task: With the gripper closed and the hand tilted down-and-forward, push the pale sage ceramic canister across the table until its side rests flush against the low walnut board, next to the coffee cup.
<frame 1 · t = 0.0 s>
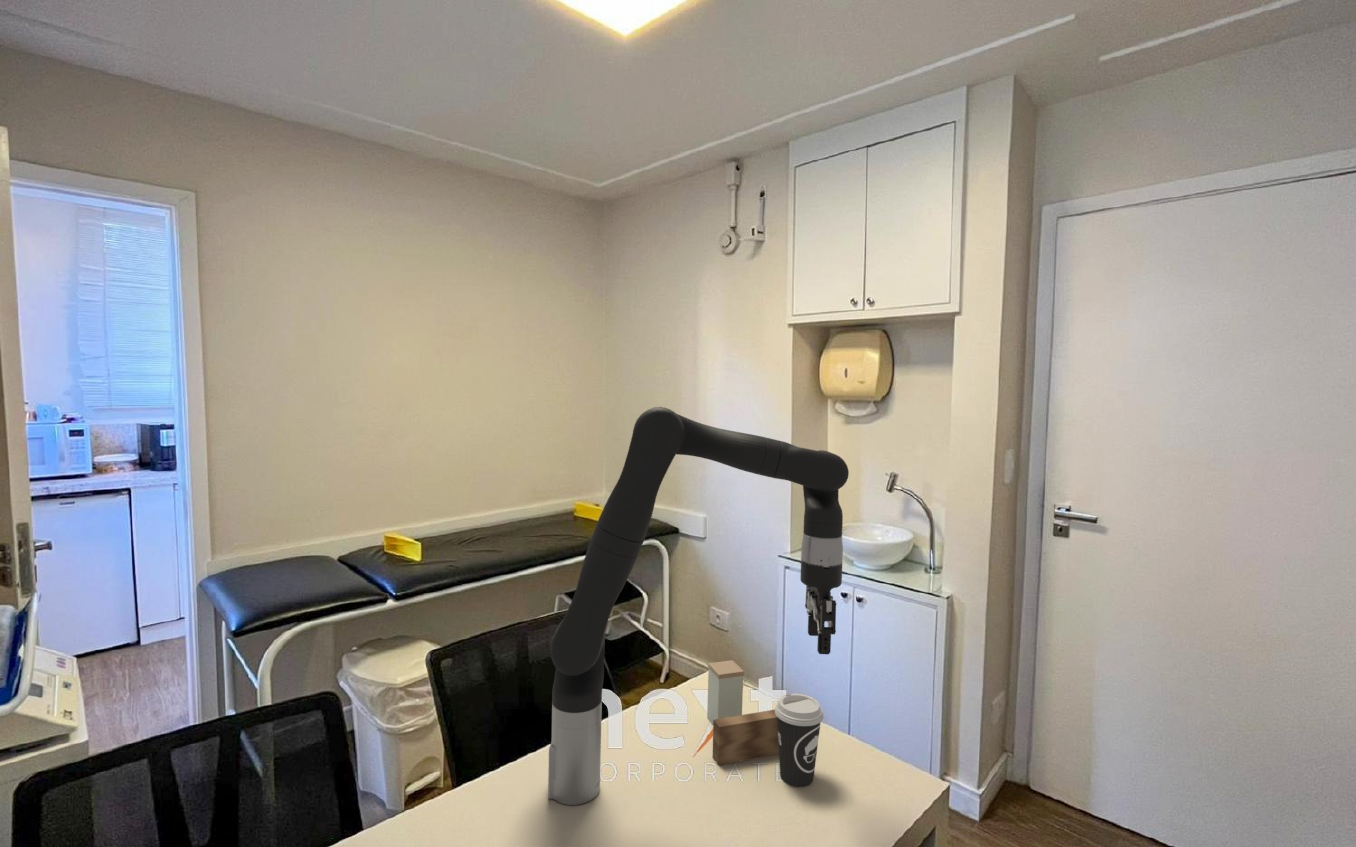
hand: (818, 644, 117), 29 cm above the table, tool pointing down, fingers open, 8 cm apart
canister: (724, 722, 144), on the table
board: (750, 754, 132), on the table
coffee cup: (796, 777, 124), on the table
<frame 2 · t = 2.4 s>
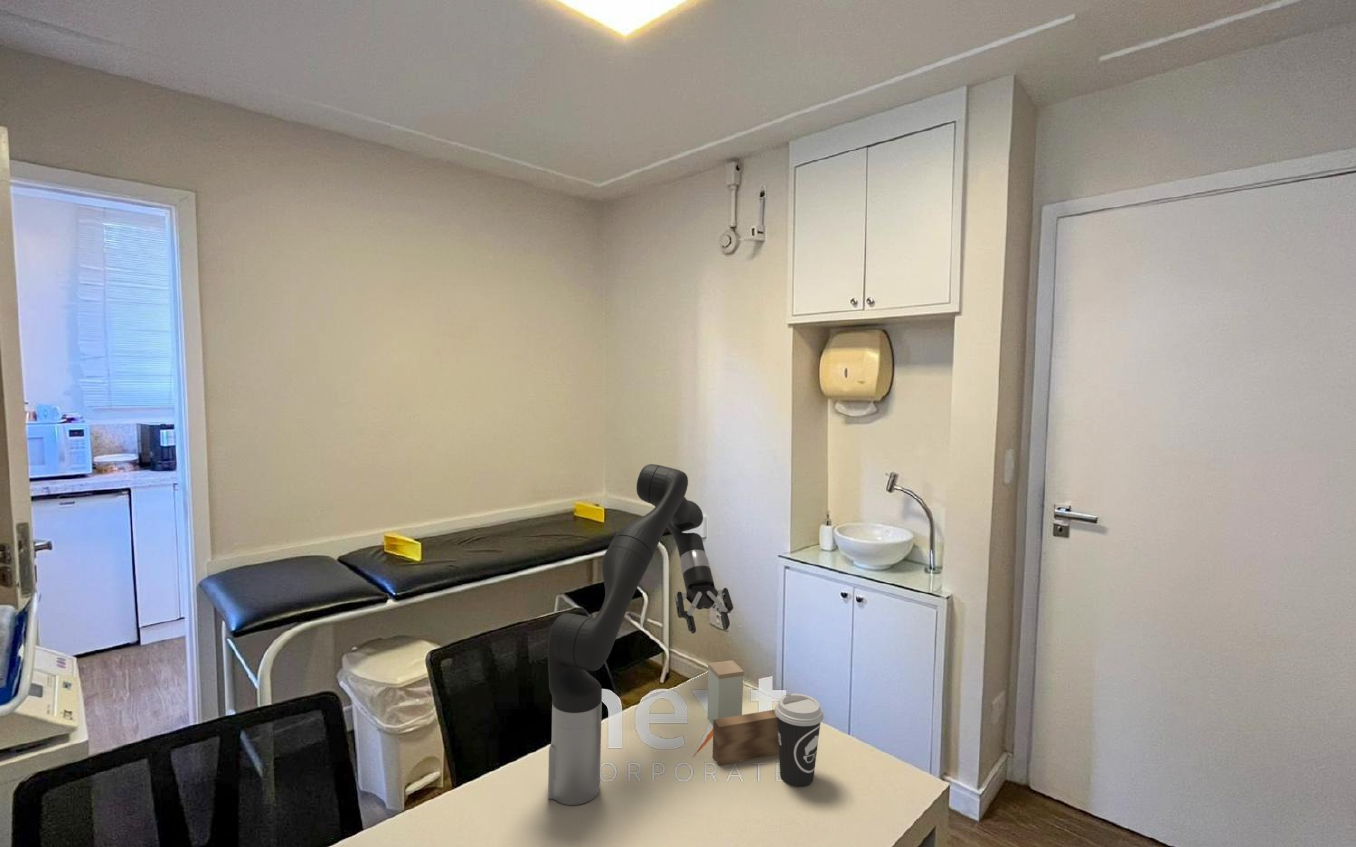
hand: (710, 630, 155), 17 cm above the table, tool tilted 45°, fingers open, 8 cm apart
nothing on the table moved.
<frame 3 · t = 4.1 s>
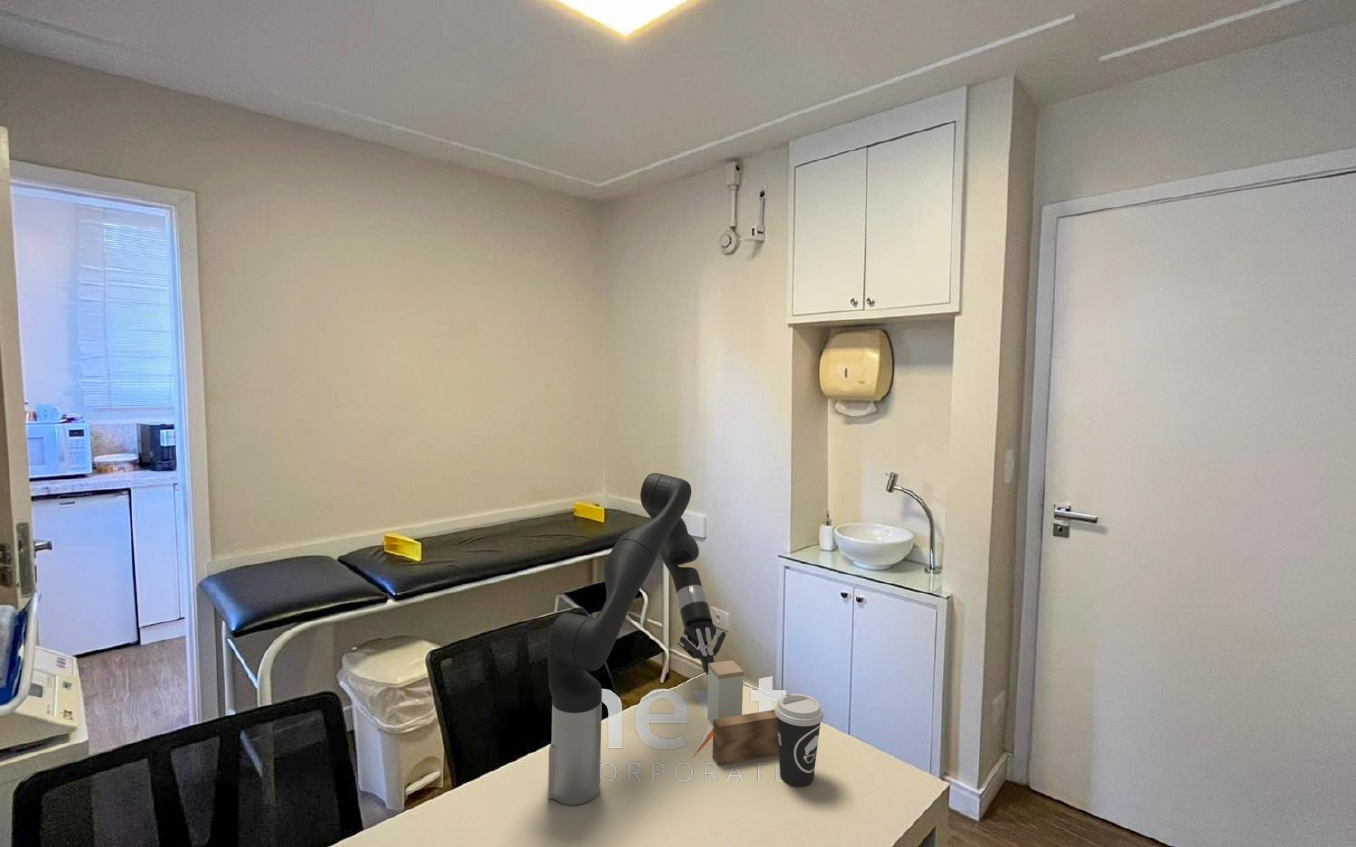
hand: (710, 673, 152), 8 cm above the table, tool tilted 45°, fingers closed
nothing on the table moved.
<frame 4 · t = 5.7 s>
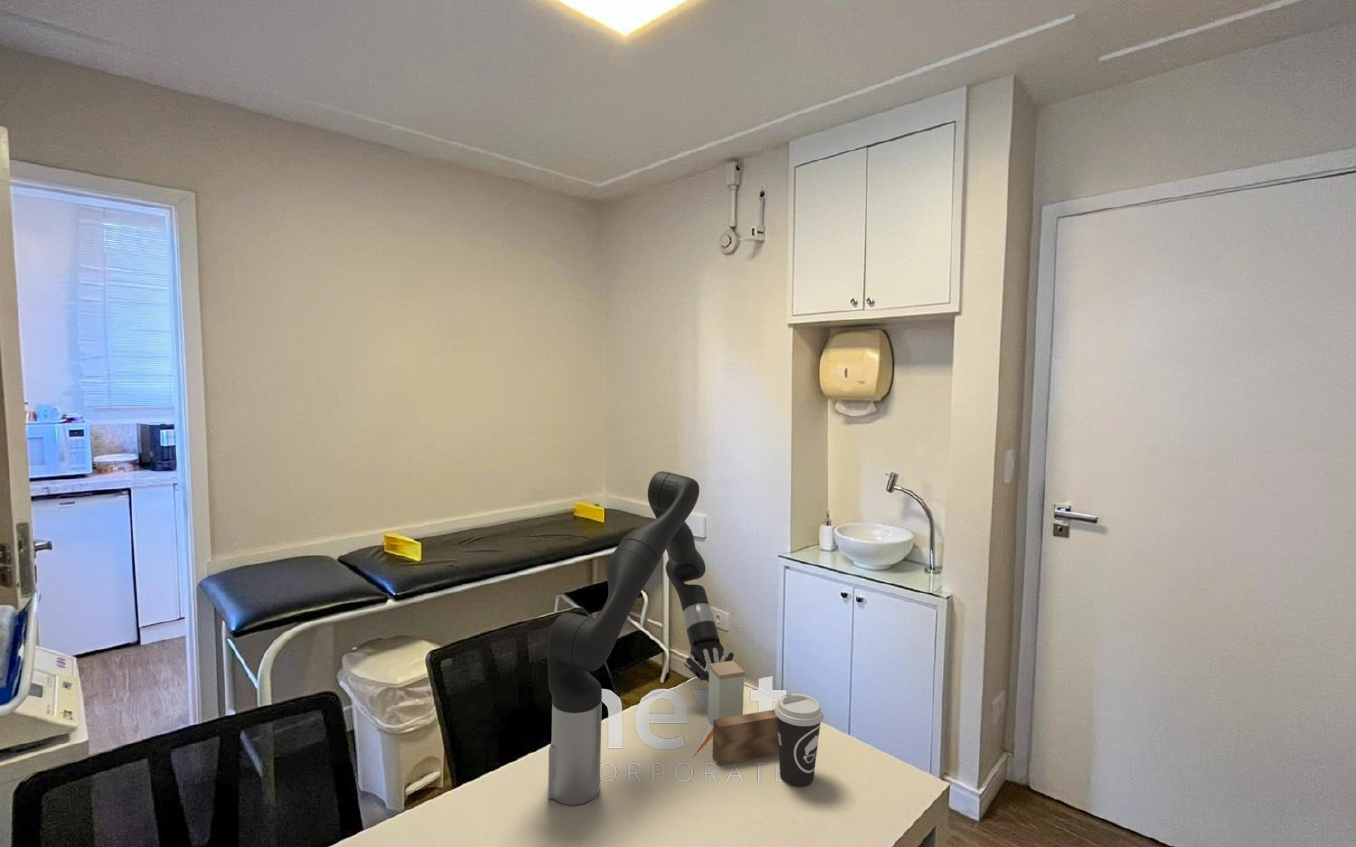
hand: (718, 695, 147), 5 cm above the table, tool tilted 45°, fingers closed
canister: (724, 723, 144), on the table
everything else where it was.
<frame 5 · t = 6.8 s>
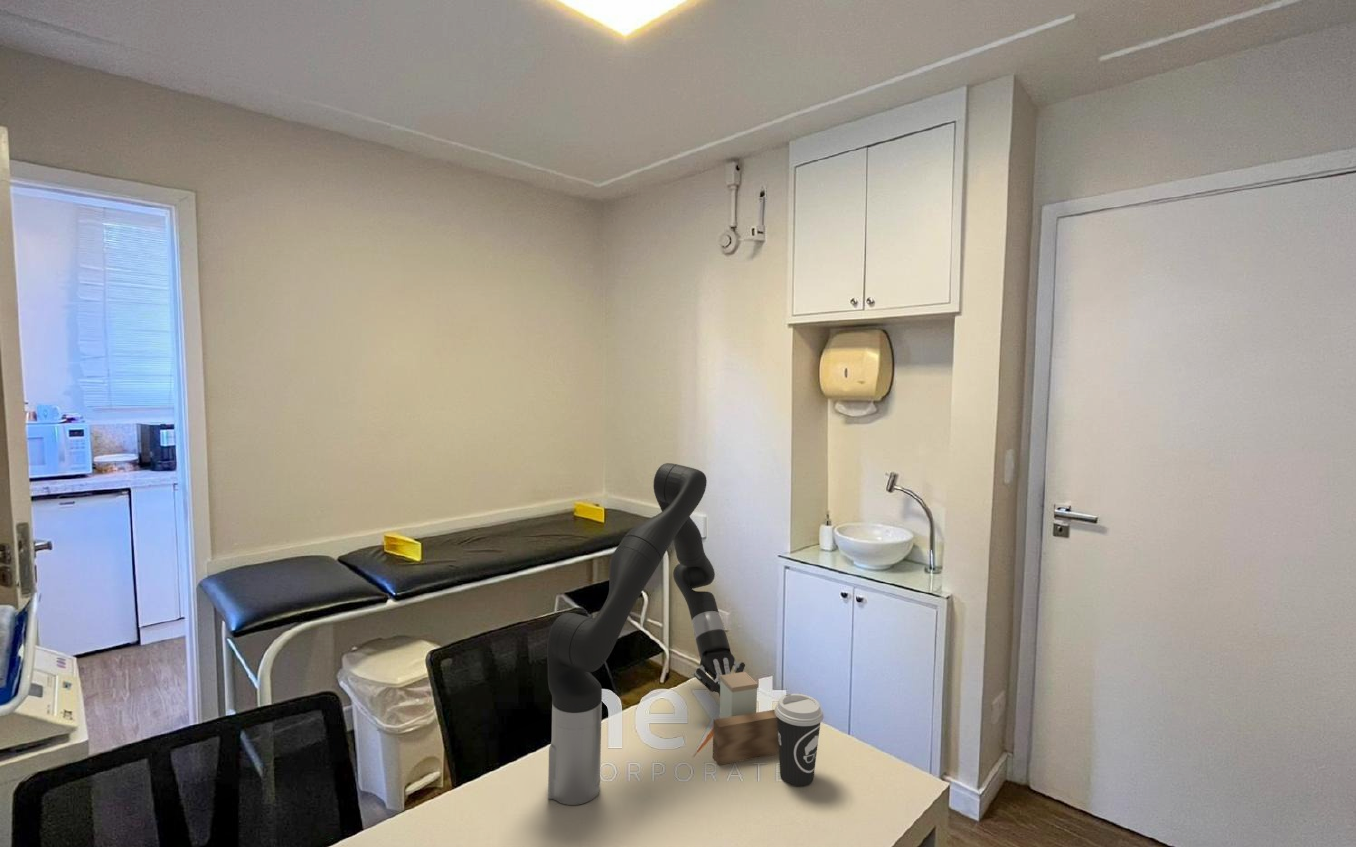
hand: (730, 708, 141), 5 cm above the table, tool tilted 45°, fingers closed
canister: (737, 737, 138), on the table, touching gripper
everything else where it was.
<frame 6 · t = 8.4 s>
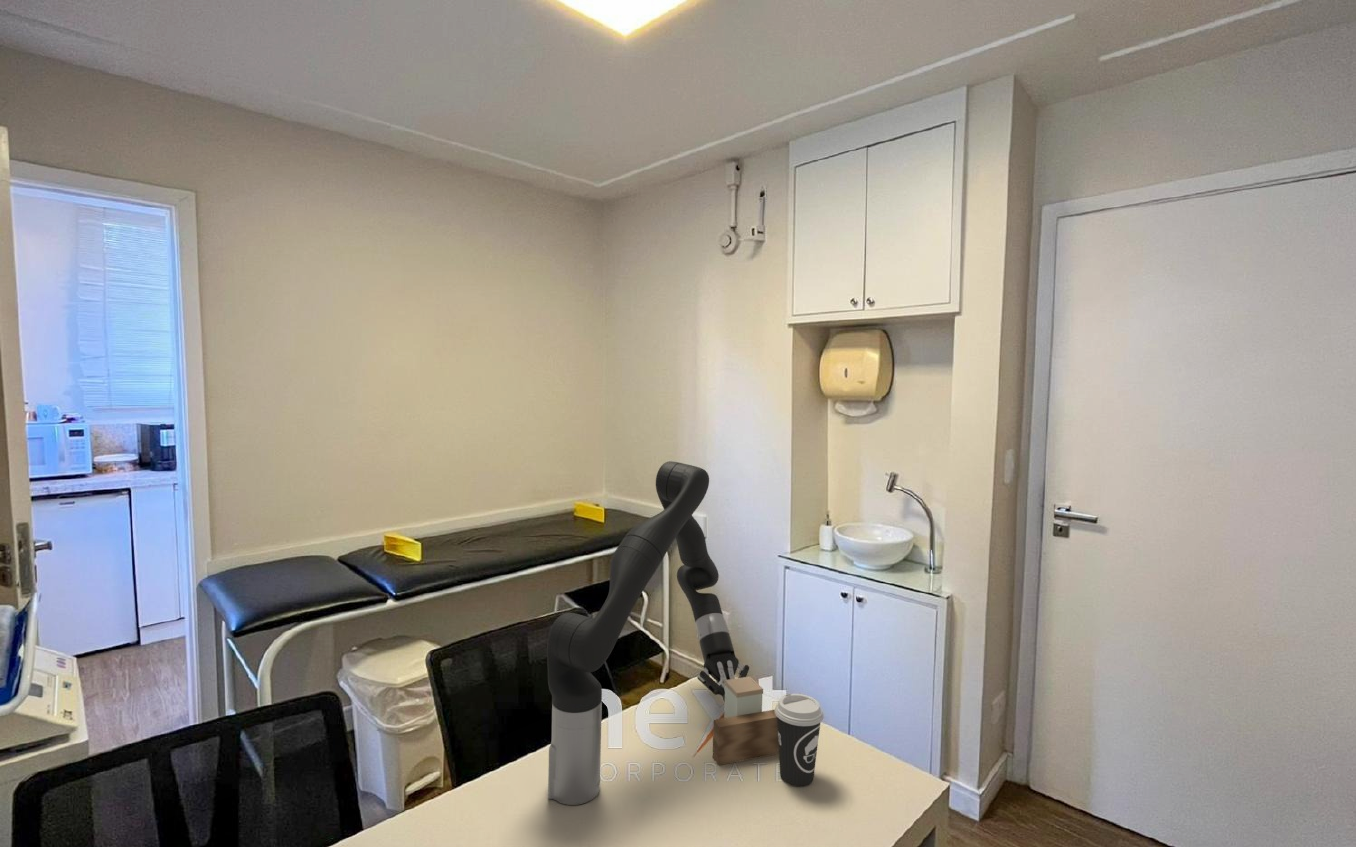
hand: (734, 711, 139), 5 cm above the table, tool tilted 45°, fingers closed
canister: (741, 743, 136), on the table
everything else where it was.
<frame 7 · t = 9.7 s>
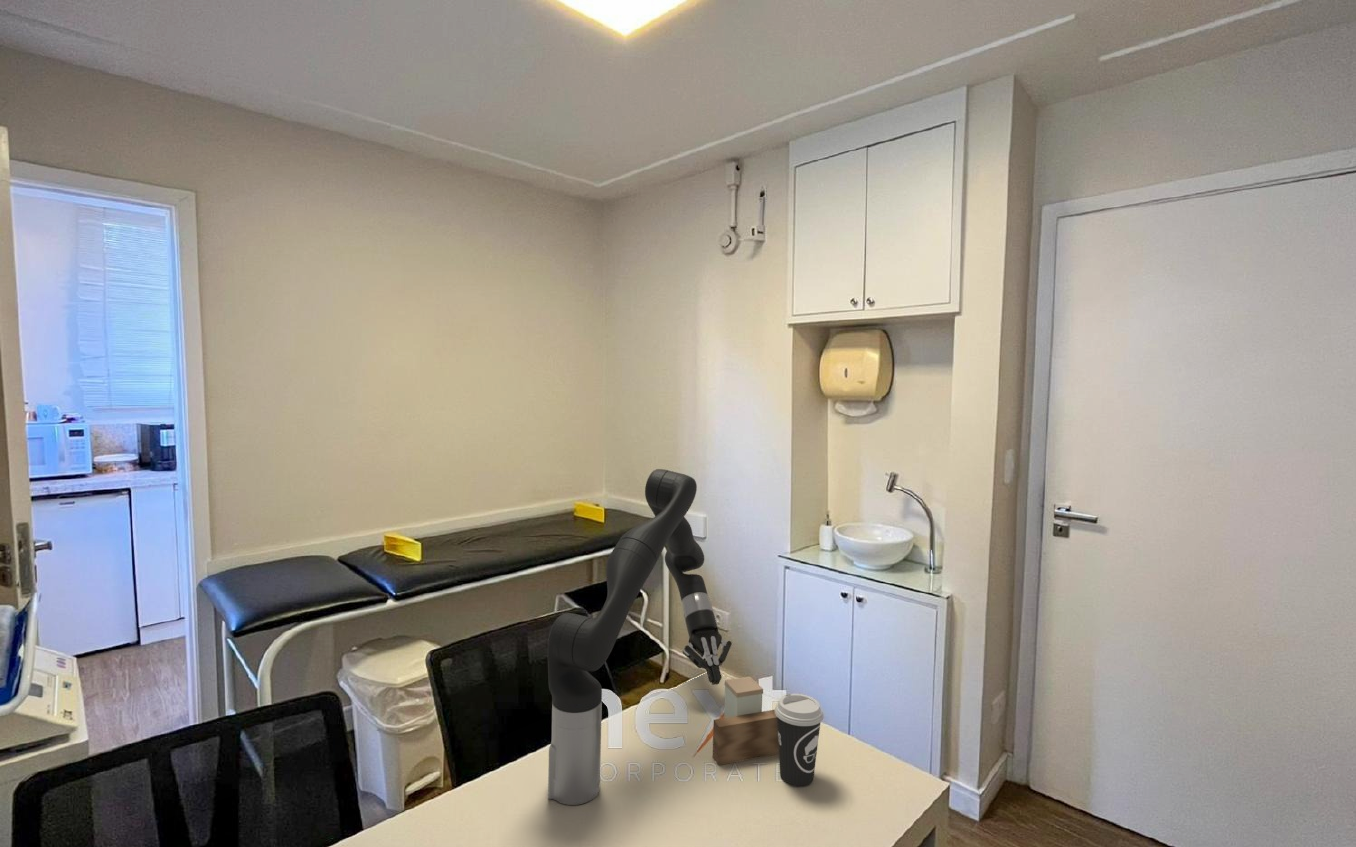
hand: (716, 683, 148), 7 cm above the table, tool tilted 45°, fingers closed
nothing on the table moved.
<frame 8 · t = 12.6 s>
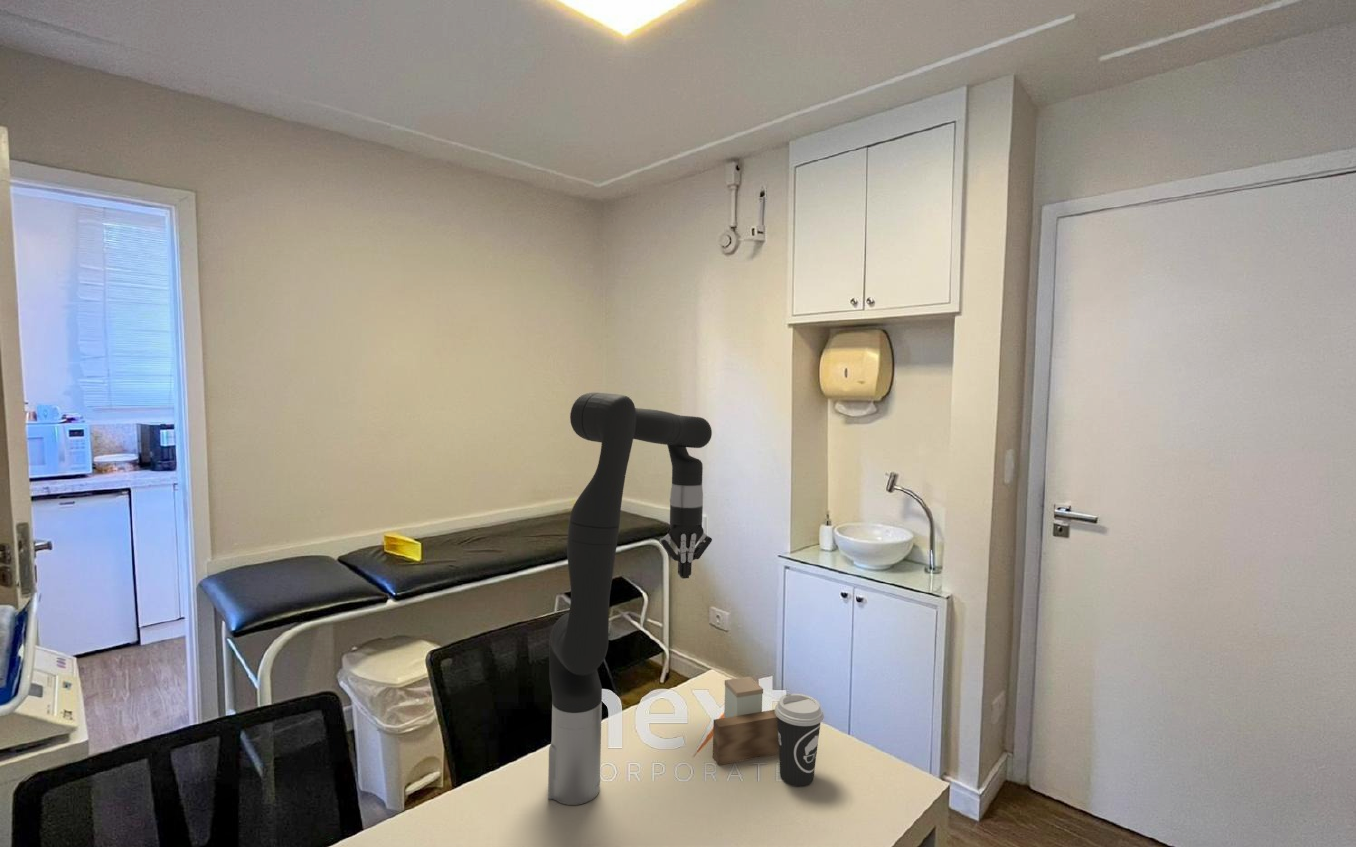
hand: (684, 577, 145), 33 cm above the table, tool pointing down, fingers closed
nothing on the table moved.
at the end: canister 0.5 cm from the target spot, on the table; canister tilted 0° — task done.
